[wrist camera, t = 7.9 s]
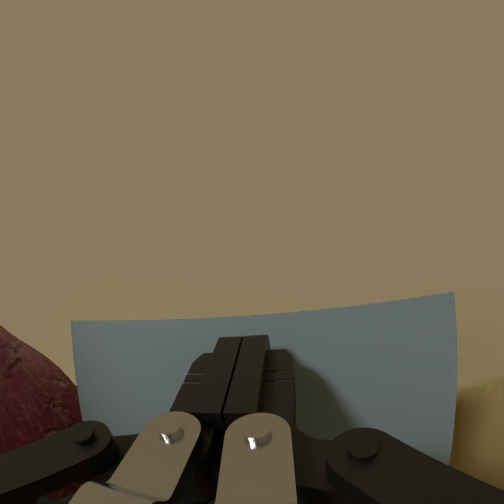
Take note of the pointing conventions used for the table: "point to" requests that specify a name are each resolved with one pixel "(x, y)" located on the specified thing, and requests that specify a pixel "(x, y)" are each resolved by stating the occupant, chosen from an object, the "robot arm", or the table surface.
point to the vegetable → (34, 399)
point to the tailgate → (304, 363)
